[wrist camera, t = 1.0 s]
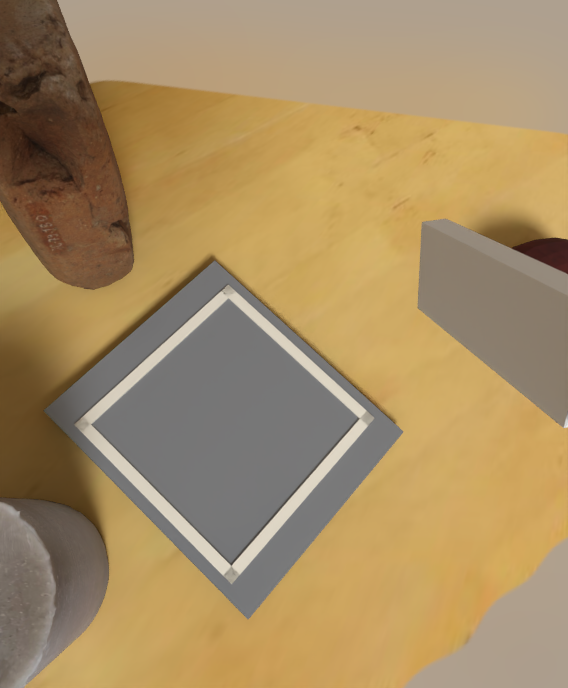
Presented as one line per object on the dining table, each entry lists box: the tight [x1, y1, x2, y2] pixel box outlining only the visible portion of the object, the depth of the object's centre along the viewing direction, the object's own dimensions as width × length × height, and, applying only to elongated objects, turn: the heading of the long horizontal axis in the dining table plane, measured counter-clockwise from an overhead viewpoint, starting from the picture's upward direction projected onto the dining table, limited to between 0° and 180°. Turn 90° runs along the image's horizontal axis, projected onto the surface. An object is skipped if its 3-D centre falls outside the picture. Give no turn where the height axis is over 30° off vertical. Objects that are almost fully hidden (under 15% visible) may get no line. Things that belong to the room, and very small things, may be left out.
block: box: [0, 0, 134, 290], centre depth 33 cm, size 11×8×20 cm
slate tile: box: [44, 261, 403, 619], centre depth 39 cm, size 20×17×1 cm
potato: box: [511, 238, 568, 274], centre depth 43 cm, size 8×9×6 cm
